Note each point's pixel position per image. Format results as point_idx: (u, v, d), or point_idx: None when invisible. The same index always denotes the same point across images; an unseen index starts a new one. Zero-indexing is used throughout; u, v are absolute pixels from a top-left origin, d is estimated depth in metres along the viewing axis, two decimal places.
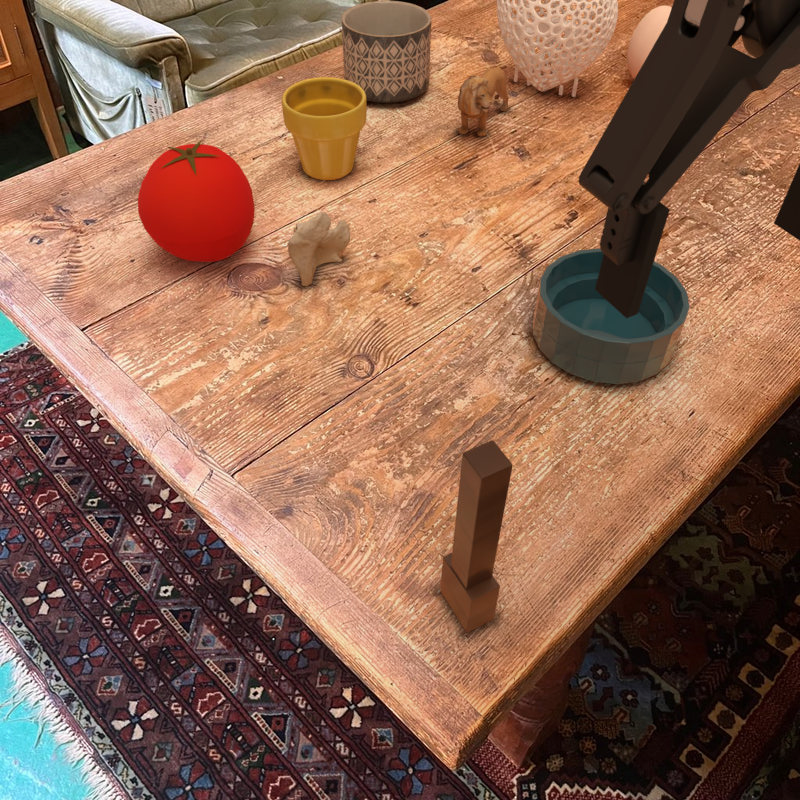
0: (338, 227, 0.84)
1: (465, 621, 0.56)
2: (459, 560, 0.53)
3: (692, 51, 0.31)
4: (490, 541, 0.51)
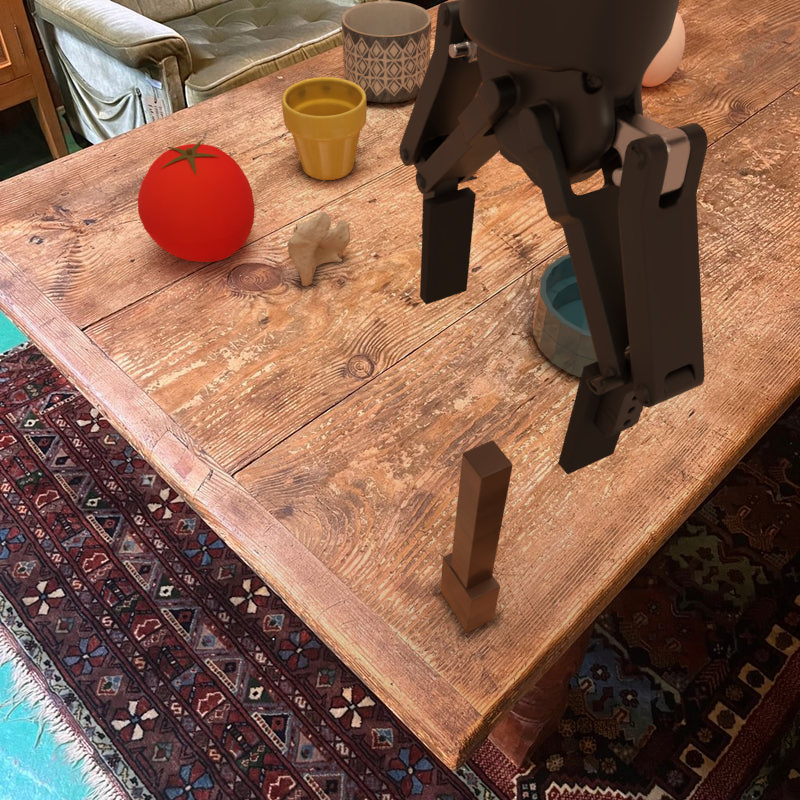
0: (338, 227, 0.84)
1: (465, 621, 0.56)
2: (459, 560, 0.53)
3: (686, 212, 0.26)
4: (490, 541, 0.51)
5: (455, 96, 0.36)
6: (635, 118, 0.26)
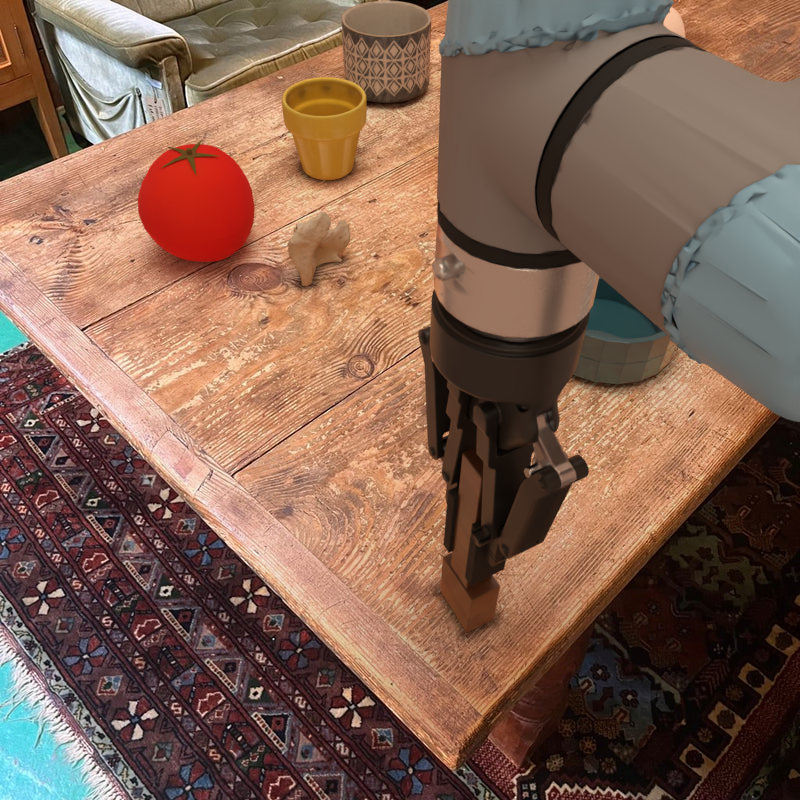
0: (338, 227, 0.84)
1: (465, 621, 0.56)
2: (459, 560, 0.53)
3: (562, 491, 0.40)
4: None
5: None
6: (550, 441, 0.38)
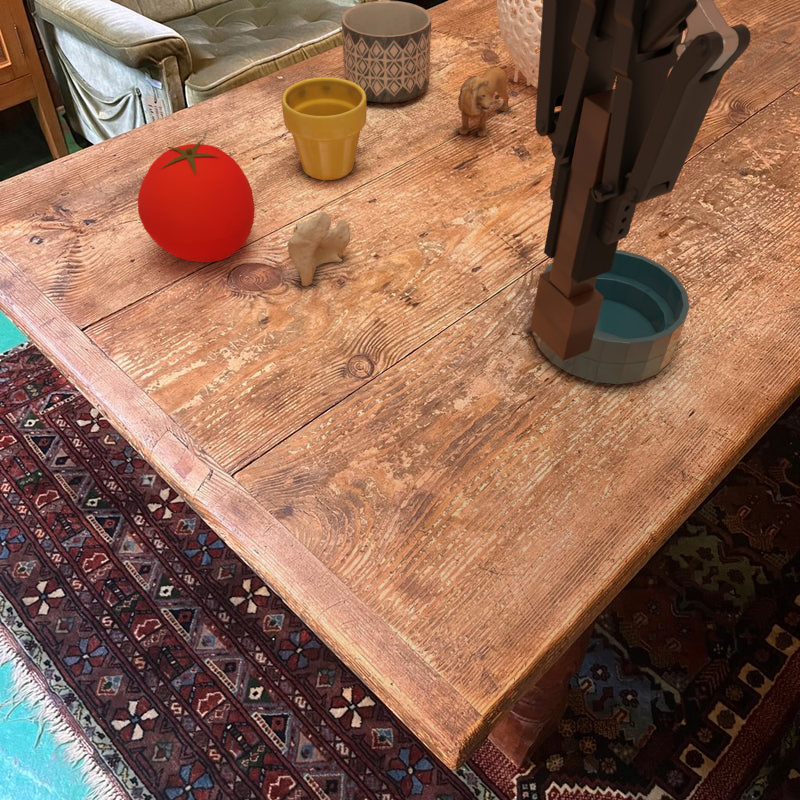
0: (338, 227, 0.84)
1: (563, 344, 0.53)
2: (563, 263, 0.50)
3: (712, 85, 0.37)
4: None
5: (570, 40, 0.44)
6: (709, 6, 0.35)
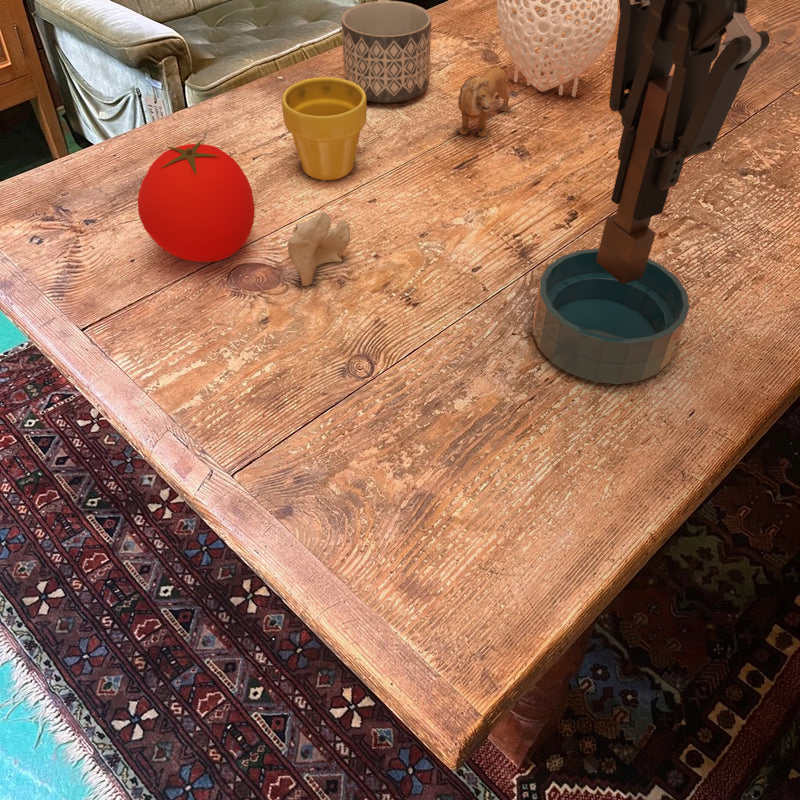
0: (338, 227, 0.84)
1: (623, 271, 0.71)
2: (626, 206, 0.67)
3: (742, 72, 0.54)
4: None
5: (638, 41, 0.61)
6: (741, 18, 0.52)
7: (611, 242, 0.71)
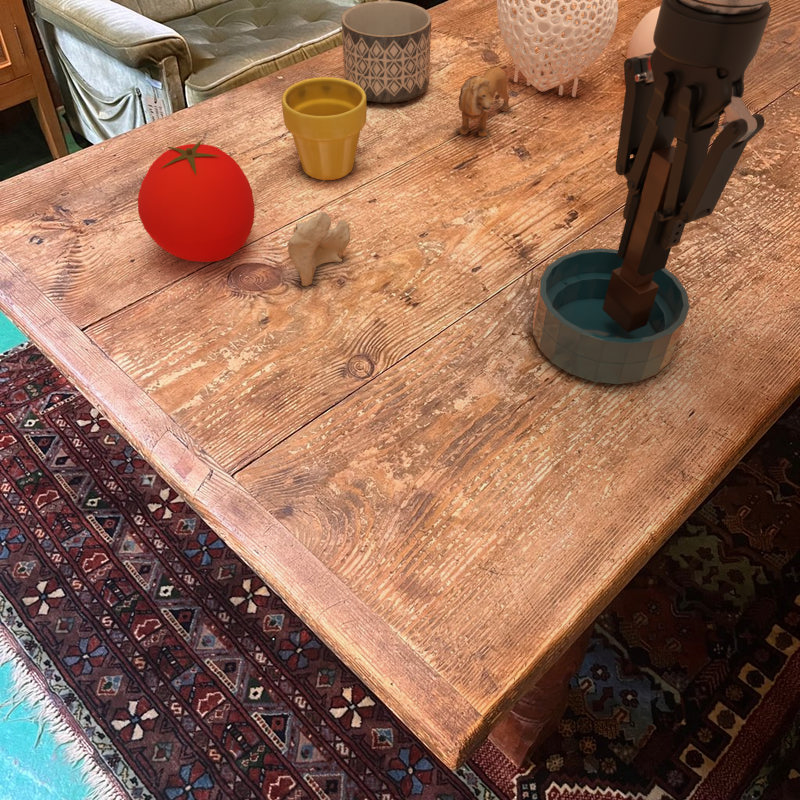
0: (338, 227, 0.84)
1: (628, 320, 0.75)
2: (631, 262, 0.72)
3: (740, 149, 0.59)
4: None
5: (643, 113, 0.65)
6: (738, 102, 0.57)
7: (617, 293, 0.75)
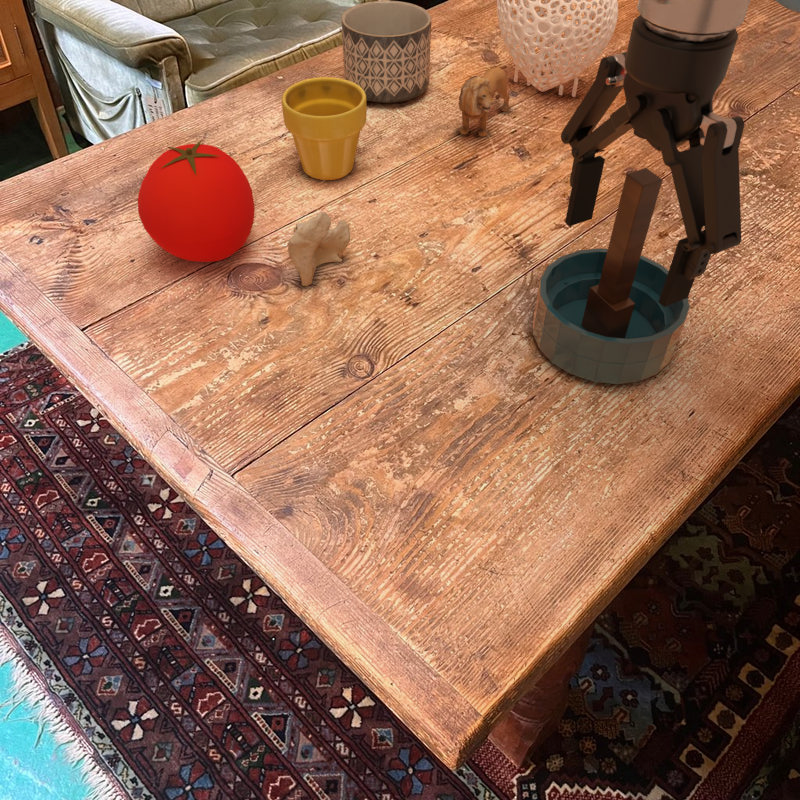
0: (338, 227, 0.84)
1: None
2: (607, 280, 0.73)
3: (733, 157, 0.57)
4: (635, 257, 0.71)
5: (602, 104, 0.67)
6: (710, 114, 0.57)
7: (594, 310, 0.76)
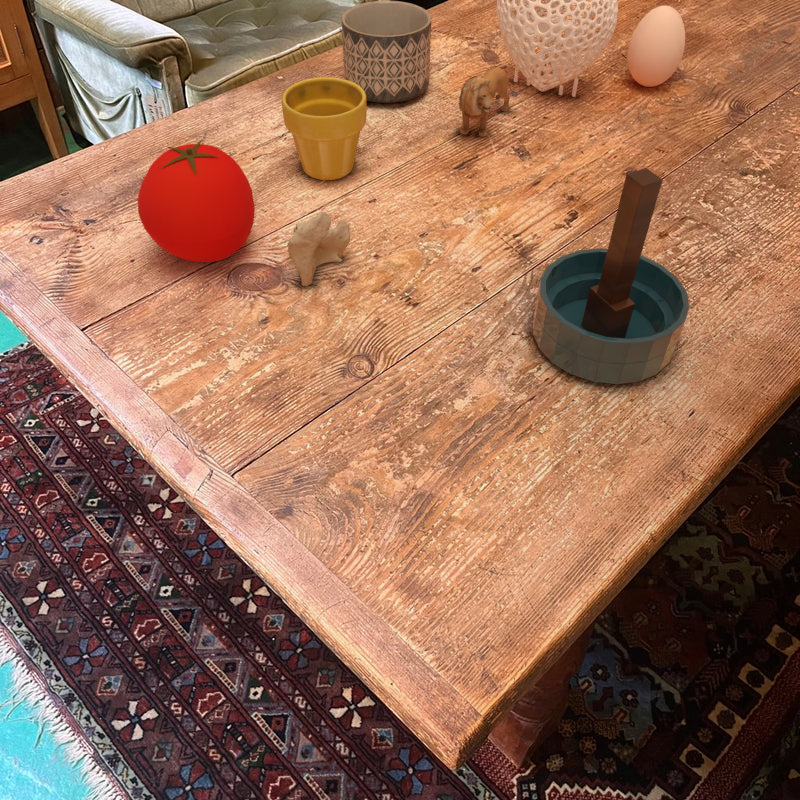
0: (338, 227, 0.84)
1: None
2: (607, 280, 0.73)
3: None
4: (635, 257, 0.71)
5: None
6: None
7: (594, 310, 0.76)
